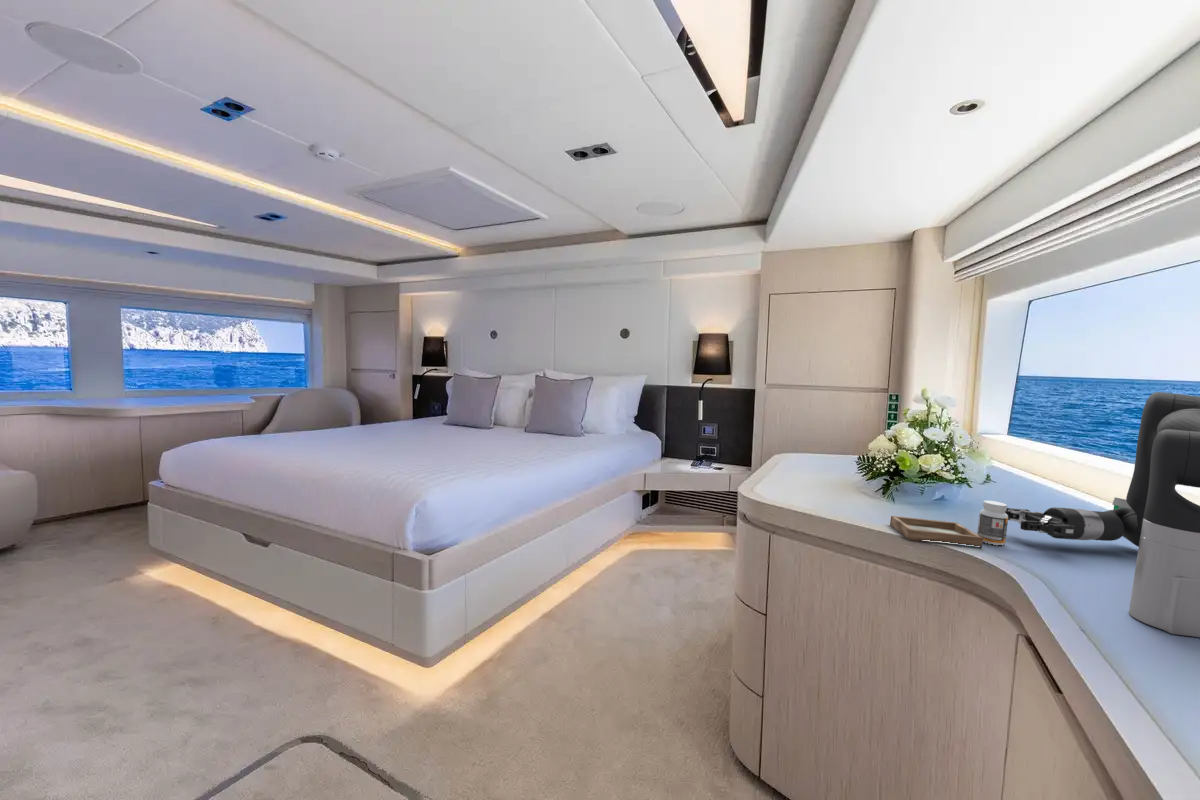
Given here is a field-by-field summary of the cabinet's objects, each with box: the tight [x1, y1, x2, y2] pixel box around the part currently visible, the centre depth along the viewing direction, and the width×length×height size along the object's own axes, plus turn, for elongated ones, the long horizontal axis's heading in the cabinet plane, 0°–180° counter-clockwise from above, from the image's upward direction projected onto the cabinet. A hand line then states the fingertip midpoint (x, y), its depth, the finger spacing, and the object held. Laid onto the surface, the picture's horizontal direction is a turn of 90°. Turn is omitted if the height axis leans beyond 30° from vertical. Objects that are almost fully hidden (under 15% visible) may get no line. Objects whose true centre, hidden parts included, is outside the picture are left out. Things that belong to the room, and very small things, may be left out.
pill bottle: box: [976, 500, 1009, 546], centre depth 129 cm, size 6×6×10 cm
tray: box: [889, 515, 984, 548], centre depth 131 cm, size 12×16×2 cm
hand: (1007, 519), depth 129 cm, fingers open, 8 cm apart
